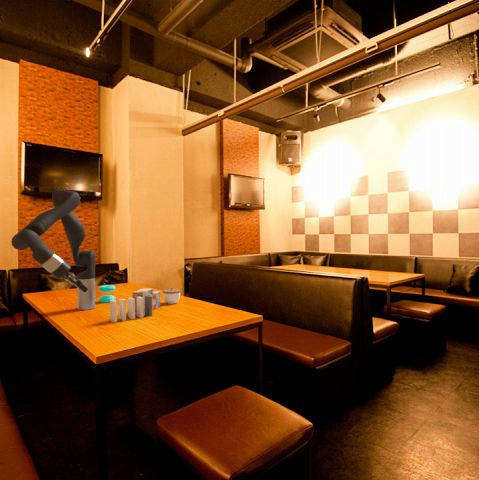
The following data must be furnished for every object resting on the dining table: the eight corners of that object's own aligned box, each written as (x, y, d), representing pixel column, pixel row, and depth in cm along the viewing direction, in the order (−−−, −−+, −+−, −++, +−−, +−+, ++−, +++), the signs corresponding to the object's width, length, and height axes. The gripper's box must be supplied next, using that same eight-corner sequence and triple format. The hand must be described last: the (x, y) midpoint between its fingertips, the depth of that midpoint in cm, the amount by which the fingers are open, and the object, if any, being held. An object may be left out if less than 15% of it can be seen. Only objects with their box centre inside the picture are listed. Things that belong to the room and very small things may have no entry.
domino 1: (110, 320, 162) (109, 300, 162) (113, 319, 163) (113, 299, 163) (113, 322, 158) (113, 301, 158) (116, 321, 159) (116, 301, 159)
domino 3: (128, 317, 168) (128, 297, 168) (131, 316, 169) (131, 297, 169) (131, 319, 164) (131, 299, 164) (135, 318, 165) (134, 298, 165)
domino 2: (119, 318, 165) (119, 298, 165) (122, 318, 166) (122, 298, 166) (122, 320, 161) (122, 300, 161) (126, 320, 162) (125, 299, 162)
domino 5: (145, 314, 173) (144, 295, 173) (148, 314, 174) (147, 295, 174) (149, 316, 169) (148, 296, 169) (152, 315, 170) (151, 296, 170)
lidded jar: (160, 302, 206) (160, 287, 206) (175, 300, 212) (175, 286, 212) (167, 305, 197) (167, 289, 197) (183, 303, 204) (183, 288, 204)
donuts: (118, 284, 215) (110, 287, 205) (118, 300, 215) (110, 303, 205) (103, 284, 217) (95, 287, 207) (104, 300, 217) (95, 302, 207)
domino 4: (136, 316, 170) (136, 296, 170) (139, 315, 171) (139, 296, 171) (140, 317, 167) (140, 298, 167) (143, 317, 168) (143, 297, 168)
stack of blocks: (150, 306, 194) (150, 285, 194) (160, 307, 193) (160, 286, 193) (132, 315, 173) (132, 291, 173) (143, 315, 172) (143, 291, 172)
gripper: (66, 260, 141) (96, 286, 149) (59, 258, 152) (88, 283, 159) (52, 273, 138) (84, 299, 146) (46, 271, 148) (76, 295, 156)
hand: (86, 290), depth 153 cm, fingers closed
